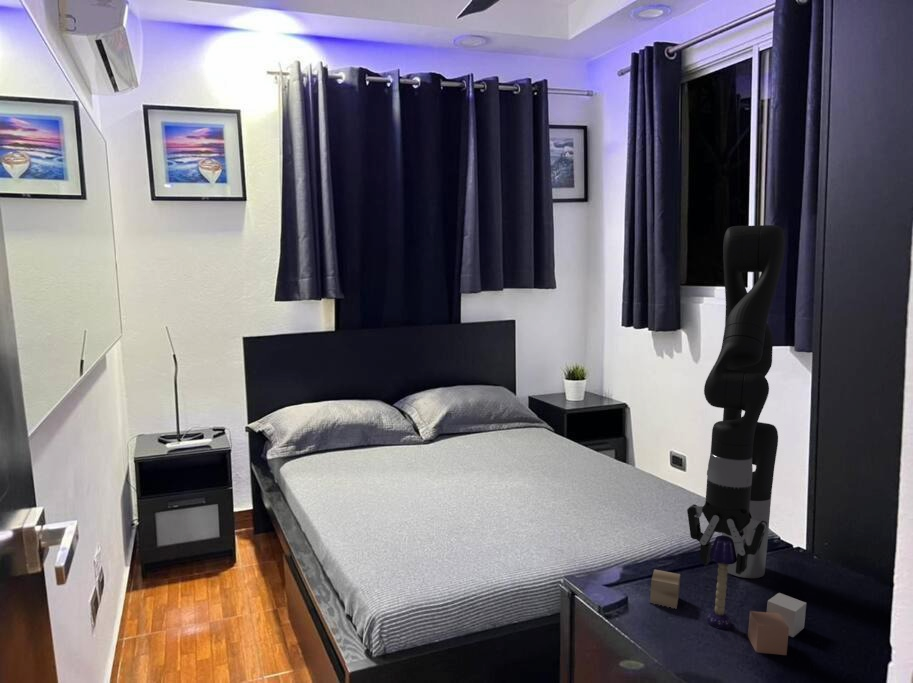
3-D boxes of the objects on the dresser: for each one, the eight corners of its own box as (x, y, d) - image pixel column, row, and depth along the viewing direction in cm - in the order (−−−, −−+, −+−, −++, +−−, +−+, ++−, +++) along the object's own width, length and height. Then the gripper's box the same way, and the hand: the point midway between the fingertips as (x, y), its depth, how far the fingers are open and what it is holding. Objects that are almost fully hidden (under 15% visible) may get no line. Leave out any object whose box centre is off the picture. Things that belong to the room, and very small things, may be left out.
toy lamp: (733, 631, 124) (740, 544, 122) (706, 628, 125) (713, 541, 123) (728, 618, 129) (735, 534, 127) (702, 615, 130) (709, 531, 128)
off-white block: (776, 617, 130) (778, 592, 130) (804, 628, 127) (806, 602, 126) (765, 626, 127) (767, 600, 126) (793, 637, 123) (795, 611, 123)
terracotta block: (747, 637, 123) (749, 610, 122) (776, 639, 122) (779, 613, 122) (756, 652, 118) (758, 625, 118) (786, 655, 117) (788, 628, 117)
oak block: (652, 592, 139) (654, 569, 138) (678, 597, 137) (680, 574, 136) (649, 603, 134) (651, 579, 134) (676, 609, 132) (678, 584, 132)
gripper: (776, 482, 123) (768, 572, 125) (696, 466, 131) (690, 550, 133) (766, 493, 117) (758, 587, 119) (682, 475, 125) (676, 563, 127)
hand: (722, 567), depth 126 cm, fingers open, 5 cm apart
